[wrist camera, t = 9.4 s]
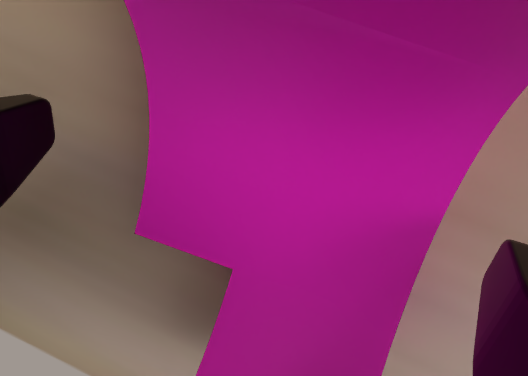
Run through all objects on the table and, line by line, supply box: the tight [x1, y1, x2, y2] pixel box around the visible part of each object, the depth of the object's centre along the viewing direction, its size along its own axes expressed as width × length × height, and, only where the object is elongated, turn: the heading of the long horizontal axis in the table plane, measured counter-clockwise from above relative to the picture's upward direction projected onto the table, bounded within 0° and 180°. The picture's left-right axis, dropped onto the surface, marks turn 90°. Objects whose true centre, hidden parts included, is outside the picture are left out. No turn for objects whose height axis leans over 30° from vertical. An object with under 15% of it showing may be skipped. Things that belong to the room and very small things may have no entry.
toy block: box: [124, 0, 528, 376], centre depth 9 cm, size 15×6×8 cm, turn 171°
